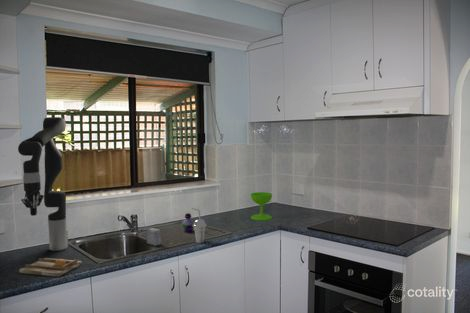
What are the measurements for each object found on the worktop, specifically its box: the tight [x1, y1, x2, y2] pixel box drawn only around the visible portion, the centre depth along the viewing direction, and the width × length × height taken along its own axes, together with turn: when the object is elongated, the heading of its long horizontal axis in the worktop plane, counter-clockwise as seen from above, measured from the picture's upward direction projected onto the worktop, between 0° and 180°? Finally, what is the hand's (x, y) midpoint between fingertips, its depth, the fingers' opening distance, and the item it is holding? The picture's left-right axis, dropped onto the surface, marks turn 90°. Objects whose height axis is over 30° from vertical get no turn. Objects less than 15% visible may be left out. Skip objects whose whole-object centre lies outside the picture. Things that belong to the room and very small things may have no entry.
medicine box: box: [146, 227, 162, 246], centre depth 230 cm, size 8×4×9 cm, turn 48°
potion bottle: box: [181, 212, 195, 233], centre depth 256 cm, size 9×9×12 cm
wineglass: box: [250, 191, 273, 221], centre depth 293 cm, size 16×16×18 cm
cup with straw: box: [191, 207, 208, 244], centre depth 233 cm, size 8×9×20 cm
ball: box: [55, 258, 66, 268], centre depth 190 cm, size 5×5×5 cm
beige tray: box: [19, 257, 83, 277], centre depth 192 cm, size 17×22×4 cm
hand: (33, 215), depth 197 cm, fingers closed
